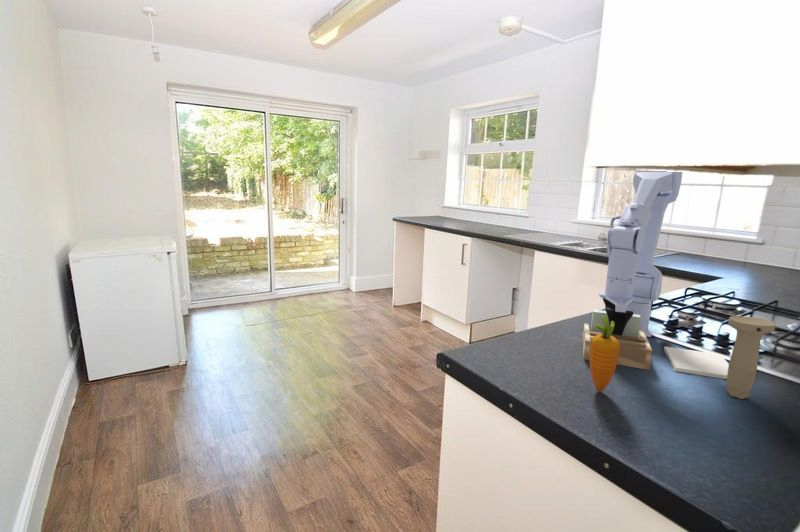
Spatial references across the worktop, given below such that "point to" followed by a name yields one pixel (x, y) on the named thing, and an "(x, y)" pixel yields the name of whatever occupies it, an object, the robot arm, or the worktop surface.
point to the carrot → (603, 355)
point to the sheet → (629, 330)
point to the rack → (624, 349)
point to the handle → (745, 353)
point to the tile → (697, 362)
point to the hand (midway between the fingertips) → (613, 331)
